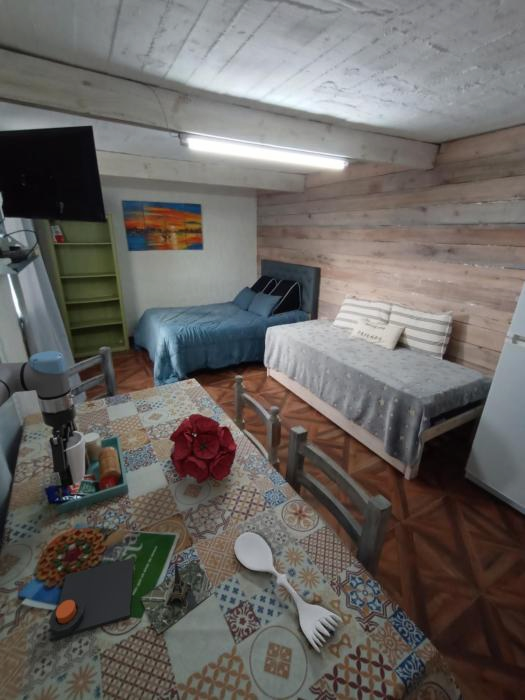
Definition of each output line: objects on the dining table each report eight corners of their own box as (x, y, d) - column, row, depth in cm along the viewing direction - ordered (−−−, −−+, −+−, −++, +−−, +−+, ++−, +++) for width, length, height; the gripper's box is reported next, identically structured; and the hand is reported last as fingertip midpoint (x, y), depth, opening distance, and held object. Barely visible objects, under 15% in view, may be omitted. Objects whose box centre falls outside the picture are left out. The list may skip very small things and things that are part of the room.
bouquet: (159, 493, 114) (208, 498, 94) (140, 431, 115) (183, 423, 95) (205, 466, 131) (255, 465, 111) (188, 411, 131) (234, 401, 111)
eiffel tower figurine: (195, 559, 85) (193, 523, 80) (216, 590, 78) (215, 552, 73) (140, 599, 76) (134, 560, 71) (158, 638, 69) (152, 598, 64)
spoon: (317, 661, 66) (319, 652, 64) (227, 550, 88) (227, 541, 87) (343, 628, 71) (344, 619, 70) (252, 532, 94) (252, 523, 92)
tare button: (55, 626, 68) (53, 620, 67) (60, 608, 71) (58, 602, 71) (74, 620, 69) (72, 615, 68) (78, 603, 72) (76, 597, 72)
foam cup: (79, 462, 100) (72, 427, 96) (97, 473, 96) (91, 437, 92) (47, 480, 93) (38, 443, 88) (65, 493, 88) (57, 456, 84)
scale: (48, 643, 67) (45, 635, 66) (66, 577, 80) (63, 569, 79) (130, 619, 72) (128, 611, 71) (134, 560, 85) (133, 552, 84)
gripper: (62, 428, 77) (77, 498, 85) (82, 387, 97) (92, 447, 105) (26, 432, 75) (45, 504, 83) (54, 389, 95) (67, 451, 103)
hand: (72, 472), depth 94 cm, fingers closed on foam cup, 9 cm apart
